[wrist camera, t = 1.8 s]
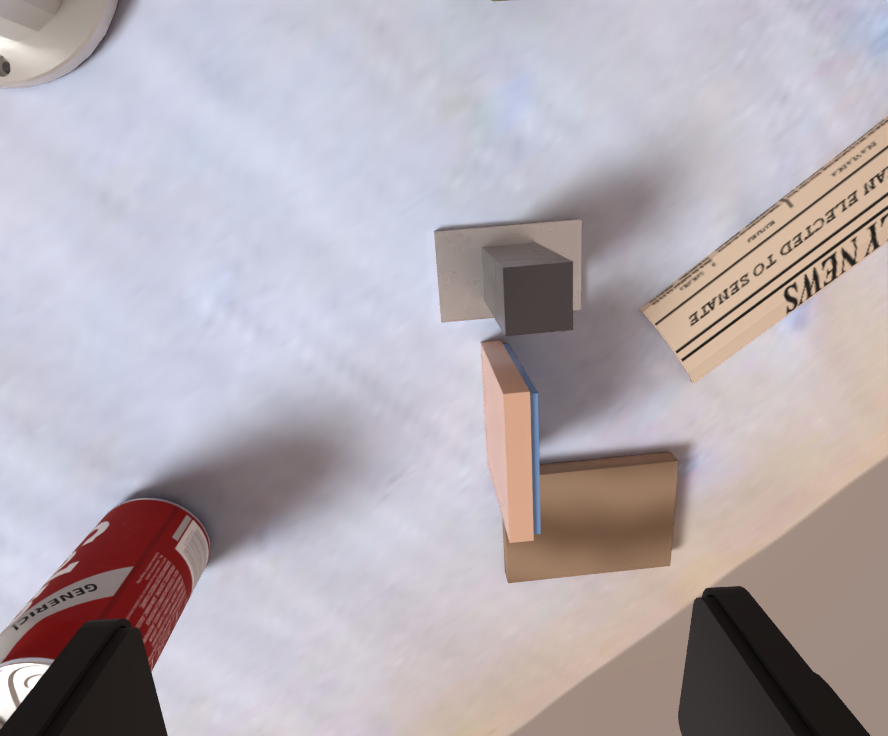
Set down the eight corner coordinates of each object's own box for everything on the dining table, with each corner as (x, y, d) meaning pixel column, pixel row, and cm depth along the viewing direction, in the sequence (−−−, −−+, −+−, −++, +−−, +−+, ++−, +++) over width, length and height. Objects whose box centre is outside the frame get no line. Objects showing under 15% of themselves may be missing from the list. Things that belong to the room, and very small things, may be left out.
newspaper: (1006, 16, 28) (1045, 6, 27) (1049, 130, 30) (1087, 127, 29) (634, 306, 32) (646, 314, 31) (694, 389, 34) (708, 400, 33)
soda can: (216, 497, 34) (122, 658, 23) (212, 584, 36) (124, 770, 25) (102, 485, 33) (-55, 644, 22) (105, 574, 35) (-37, 761, 24)
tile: (480, 342, 32) (503, 394, 24) (507, 339, 32) (539, 390, 24) (487, 462, 34) (509, 543, 27) (512, 460, 34) (541, 539, 27)
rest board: (500, 468, 35) (503, 478, 33) (669, 451, 35) (678, 461, 34) (504, 570, 37) (508, 583, 36) (662, 554, 38) (670, 565, 36)
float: (433, 231, 29) (441, 248, 22) (579, 218, 30) (632, 232, 23) (441, 320, 31) (450, 362, 24) (578, 308, 31) (627, 346, 24)
